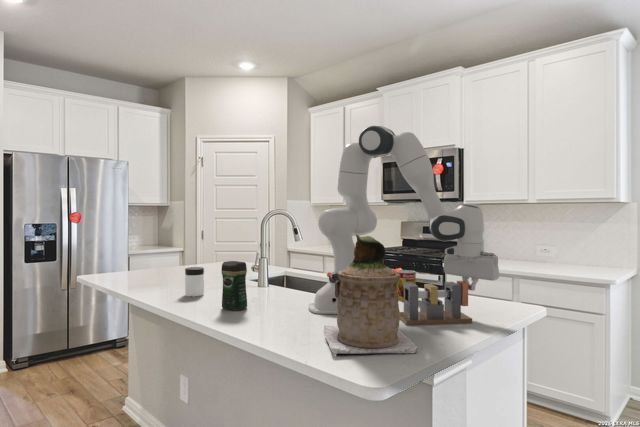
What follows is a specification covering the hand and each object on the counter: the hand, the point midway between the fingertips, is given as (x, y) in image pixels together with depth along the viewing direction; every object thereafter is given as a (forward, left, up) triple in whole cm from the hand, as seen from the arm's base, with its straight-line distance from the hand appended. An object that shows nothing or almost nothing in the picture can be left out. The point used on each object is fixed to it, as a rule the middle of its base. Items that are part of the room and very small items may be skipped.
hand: (470, 289), depth 157 cm
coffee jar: (-84, +26, -10) cm, 89 cm away
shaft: (-11, 0, -5) cm, 12 cm away
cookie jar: (-42, -22, -10) cm, 48 cm away
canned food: (-13, +33, -10) cm, 37 cm away
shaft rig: (-14, 0, -10) cm, 17 cm away
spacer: (-14, 0, -4) cm, 15 cm away
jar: (-104, +55, -10) cm, 118 cm away
